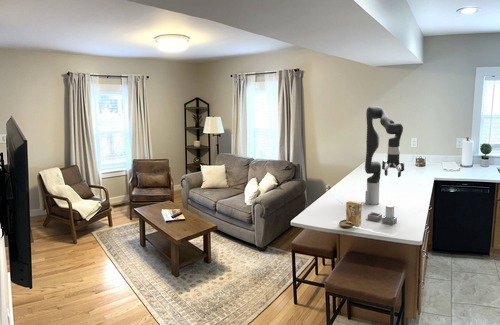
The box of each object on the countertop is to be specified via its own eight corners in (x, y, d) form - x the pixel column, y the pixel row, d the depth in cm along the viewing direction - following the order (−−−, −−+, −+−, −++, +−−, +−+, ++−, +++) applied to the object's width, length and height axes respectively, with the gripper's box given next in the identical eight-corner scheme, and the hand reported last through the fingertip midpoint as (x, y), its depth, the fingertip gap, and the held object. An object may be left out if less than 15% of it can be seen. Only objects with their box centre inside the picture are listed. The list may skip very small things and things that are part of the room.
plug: (385, 222, 227) (385, 205, 225) (387, 220, 229) (388, 204, 228) (391, 223, 224) (392, 207, 222) (393, 221, 227) (394, 205, 225)
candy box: (361, 225, 225) (361, 202, 222) (358, 227, 222) (359, 204, 219) (348, 222, 230) (348, 200, 228) (345, 224, 227) (346, 202, 225)
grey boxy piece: (365, 221, 232) (365, 215, 231) (372, 216, 241) (372, 211, 240) (392, 227, 220) (392, 221, 219) (399, 222, 228) (399, 216, 228)
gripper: (380, 153, 236) (380, 176, 239) (402, 154, 227) (401, 178, 229) (385, 151, 241) (384, 174, 244) (406, 153, 232) (405, 176, 235)
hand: (392, 176), depth 237 cm, fingers open, 8 cm apart
